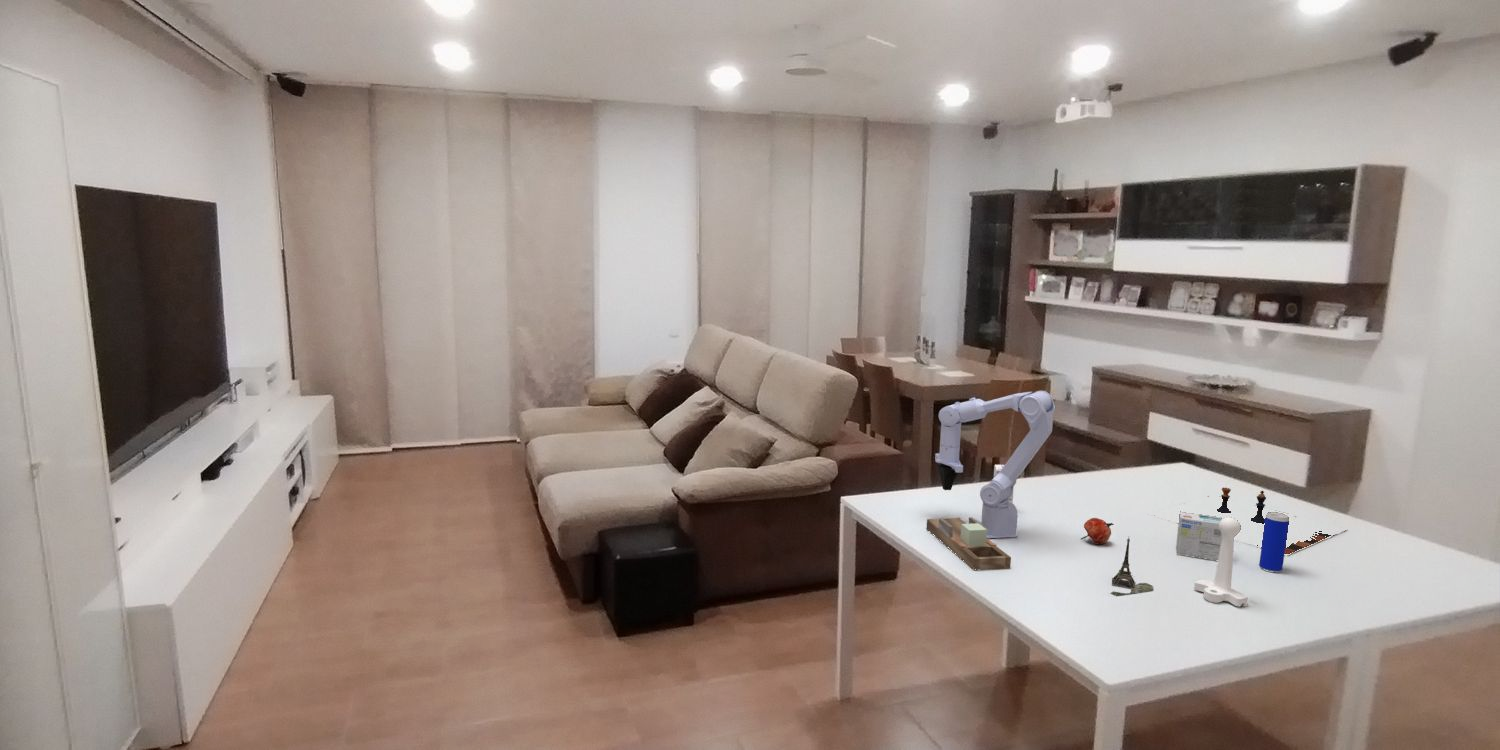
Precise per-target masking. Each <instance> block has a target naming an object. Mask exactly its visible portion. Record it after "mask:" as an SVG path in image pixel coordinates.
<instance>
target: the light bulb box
mask: <svg viewBox="0 0 1500 750" xmlns="http://www.w3.org/2000/svg"><path fill="white" fill-rule="evenodd" d="M1221 520H1222V517H1216V516H1209V515H1202V514H1194V513H1186V512H1181V511H1180V514H1179V523H1177V525H1178V526H1177V535H1176V545H1175V551H1176V553H1177V554H1180V555H1179V556H1183V555H1188V556H1187V557H1189V556H1194V557H1193V558H1195V557H1200V558H1199V559H1201V558H1206V559H1205V560H1207V559H1212V560H1211V561H1214V560H1218V559H1219V553H1220V548H1221V543H1222V538H1223V535H1222V532H1221V531H1220V529H1219V523H1220V521H1221ZM1177 554H1176V555H1177Z"/></svg>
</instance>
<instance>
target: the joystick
mask: <svg viewBox="0 0 1500 750" xmlns="http://www.w3.org/2000/svg"><path fill="white" fill-rule="evenodd" d="M1219 529H1220V531H1221V532H1222V535H1223V538H1222V543H1221V548H1220V553H1219V559H1218V561H1217V565H1216V571H1215V575H1214V581H1210V580H1207V579H1198V580H1196V581H1194V583H1193V584H1194V586H1193V590H1195V591H1199V592H1202V593H1203V595H1202V598H1203V599H1205V600H1206V602H1210V603H1212V604H1219V603H1221V602H1223V601H1224V602H1228V603H1231V604H1232V605H1233V606H1236V607H1247V605H1248V595H1246V594H1244V593H1242V592H1240V591H1238V590H1236V589H1233V588H1232V579H1233V578H1232V577H1233V576H1232V575H1233V564H1234V563H1233V561H1234V547H1235V543H1234V542H1235V541H1234V537H1235V536H1236V535H1237V534H1238V533H1239V532H1240V530H1241V525H1240V523H1239V522H1238V520H1236V519H1235V518H1232V517H1226V518H1223V519H1222V520H1221V521H1220V523H1219Z"/></svg>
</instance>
